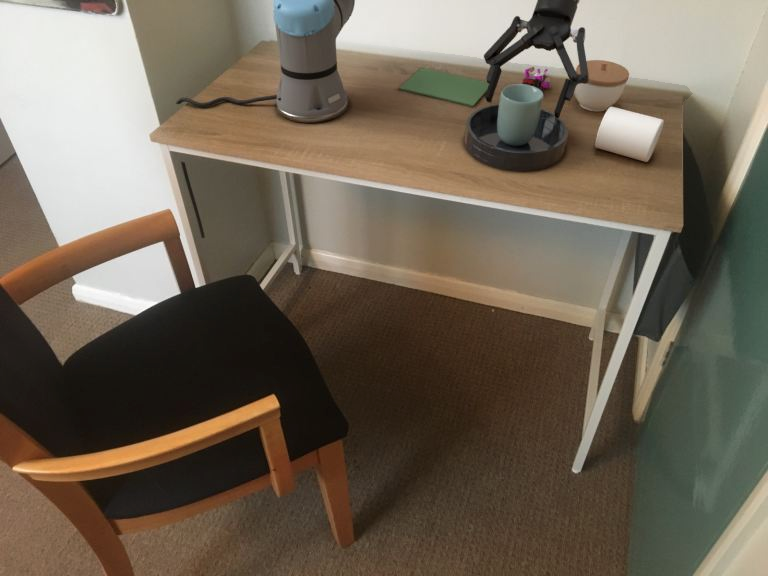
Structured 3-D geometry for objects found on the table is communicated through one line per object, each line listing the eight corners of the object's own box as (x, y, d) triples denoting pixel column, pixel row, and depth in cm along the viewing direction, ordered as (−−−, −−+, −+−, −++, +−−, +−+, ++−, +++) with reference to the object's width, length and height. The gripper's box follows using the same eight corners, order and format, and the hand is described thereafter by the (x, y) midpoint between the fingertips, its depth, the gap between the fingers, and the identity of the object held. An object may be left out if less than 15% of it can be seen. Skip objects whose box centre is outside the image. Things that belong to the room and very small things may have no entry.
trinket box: (566, 112, 130) (576, 70, 123) (570, 90, 137) (580, 49, 131) (618, 120, 127) (631, 77, 121) (620, 97, 135) (632, 55, 128)
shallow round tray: (449, 155, 117) (450, 137, 115) (485, 112, 130) (487, 95, 127) (547, 181, 111) (551, 162, 108) (575, 134, 123) (579, 116, 120)
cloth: (399, 89, 138) (399, 87, 138) (421, 69, 145) (421, 67, 145) (473, 106, 132) (473, 105, 131) (492, 84, 139) (492, 83, 139)
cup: (507, 127, 124) (514, 80, 117) (541, 139, 120) (551, 91, 113) (486, 142, 119) (493, 94, 112) (521, 155, 116) (530, 107, 109)
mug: (643, 169, 114) (656, 131, 108) (591, 154, 118) (601, 116, 112) (659, 141, 121) (673, 104, 116) (610, 128, 125) (620, 91, 119)
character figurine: (529, 77, 144) (515, 92, 135) (534, 55, 141) (520, 69, 132) (553, 83, 142) (540, 98, 134) (558, 61, 139) (546, 75, 131)
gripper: (625, 21, 114) (587, 128, 115) (499, 0, 123) (464, 100, 123) (626, 0, 107) (586, 115, 108) (493, -21, 115) (456, 86, 116)
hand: (521, 107), depth 116 cm, fingers open, 13 cm apart
